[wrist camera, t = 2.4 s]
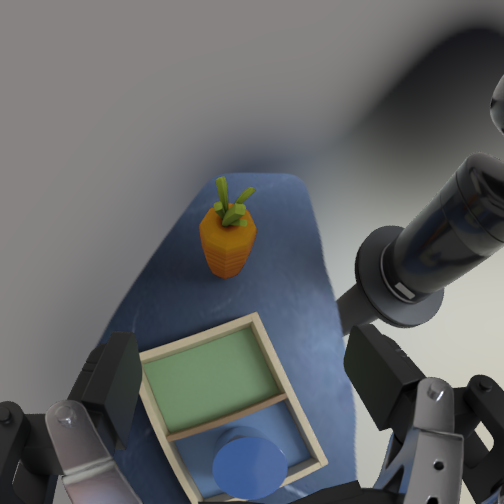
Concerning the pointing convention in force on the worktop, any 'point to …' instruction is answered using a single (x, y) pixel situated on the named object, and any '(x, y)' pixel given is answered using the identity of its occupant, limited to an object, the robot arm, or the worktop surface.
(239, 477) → the blue cylinder
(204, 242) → the carrot
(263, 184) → the worktop surface
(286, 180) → the worktop surface
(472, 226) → the robot arm
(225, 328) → the sorting tray
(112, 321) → the worktop surface
